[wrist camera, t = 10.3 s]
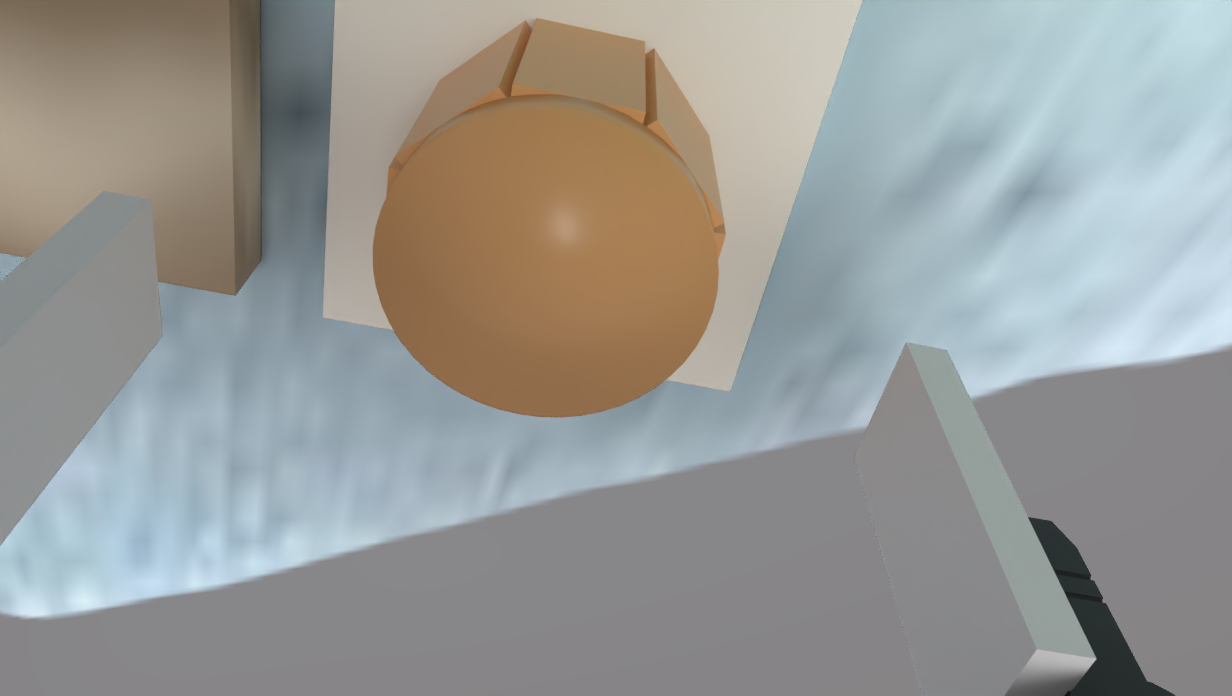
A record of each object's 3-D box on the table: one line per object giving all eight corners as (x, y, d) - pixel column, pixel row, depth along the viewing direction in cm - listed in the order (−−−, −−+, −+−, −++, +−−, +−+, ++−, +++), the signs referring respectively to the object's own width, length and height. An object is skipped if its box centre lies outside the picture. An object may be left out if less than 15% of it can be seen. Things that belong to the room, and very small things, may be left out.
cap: (443, -3, 22) (384, 75, 17) (734, 60, 22) (761, 153, 17) (417, 259, 26) (362, 386, 21) (667, 306, 26) (673, 441, 21)
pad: (350, -151, 21) (340, -147, 20) (864, -34, 22) (871, -26, 21) (330, 303, 27) (322, 317, 27) (727, 376, 28) (730, 391, 28)
